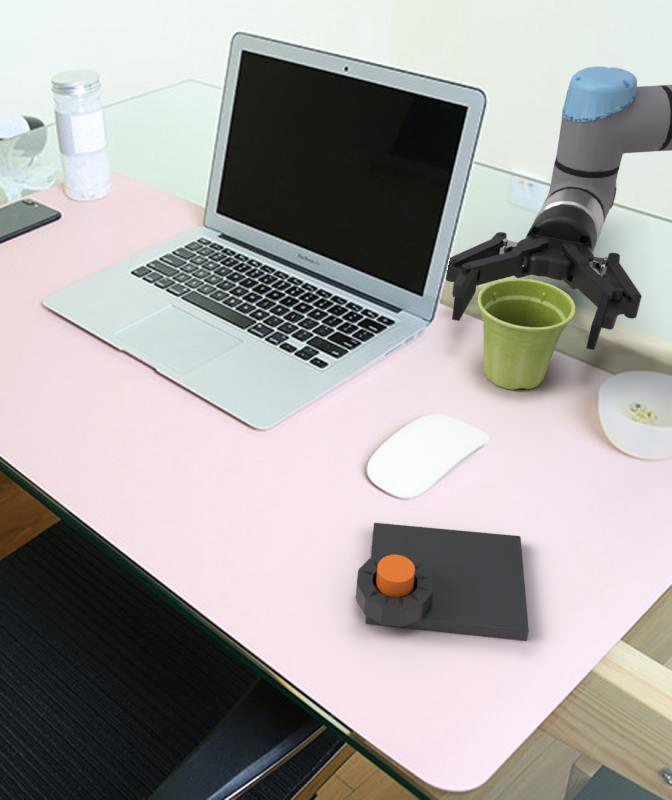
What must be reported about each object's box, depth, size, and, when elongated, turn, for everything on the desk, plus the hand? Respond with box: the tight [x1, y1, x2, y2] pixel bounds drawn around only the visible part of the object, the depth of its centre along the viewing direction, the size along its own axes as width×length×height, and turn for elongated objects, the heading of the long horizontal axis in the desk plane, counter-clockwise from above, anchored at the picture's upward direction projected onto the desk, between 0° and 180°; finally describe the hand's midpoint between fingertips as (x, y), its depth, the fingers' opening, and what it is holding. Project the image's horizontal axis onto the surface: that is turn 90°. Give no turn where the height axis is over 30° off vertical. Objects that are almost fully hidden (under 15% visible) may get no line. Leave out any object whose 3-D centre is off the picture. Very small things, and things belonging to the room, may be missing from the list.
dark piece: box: [355, 522, 530, 642], centre depth 74 cm, size 13×11×3 cm
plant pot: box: [477, 278, 576, 391], centre depth 96 cm, size 9×9×9 cm
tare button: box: [376, 555, 415, 598], centre depth 72 cm, size 3×3×2 cm
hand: (523, 323), depth 95 cm, fingers open, 13 cm apart
